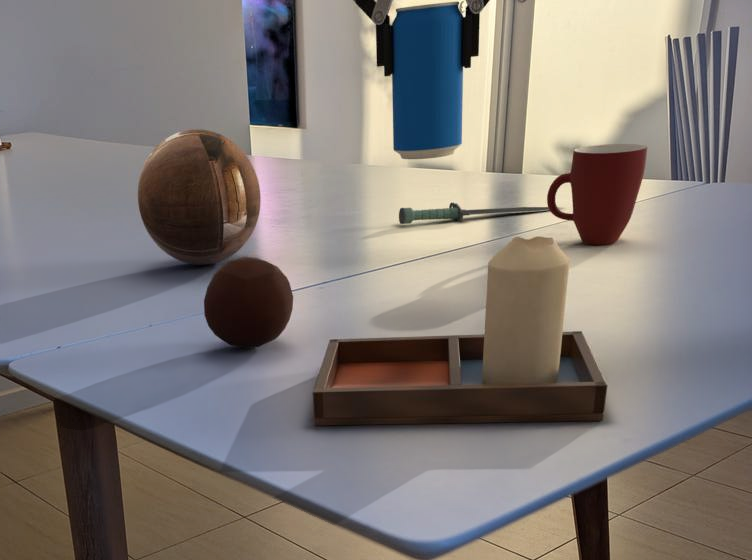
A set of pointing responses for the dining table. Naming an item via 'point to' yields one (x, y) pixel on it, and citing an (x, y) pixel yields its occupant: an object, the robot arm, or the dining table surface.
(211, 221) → the brown shiny sphere
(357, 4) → the robot arm
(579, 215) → the mug
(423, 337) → the sorting tray
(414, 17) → the beverage can
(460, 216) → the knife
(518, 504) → the dining table surface
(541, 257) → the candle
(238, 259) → the dark brown ball
